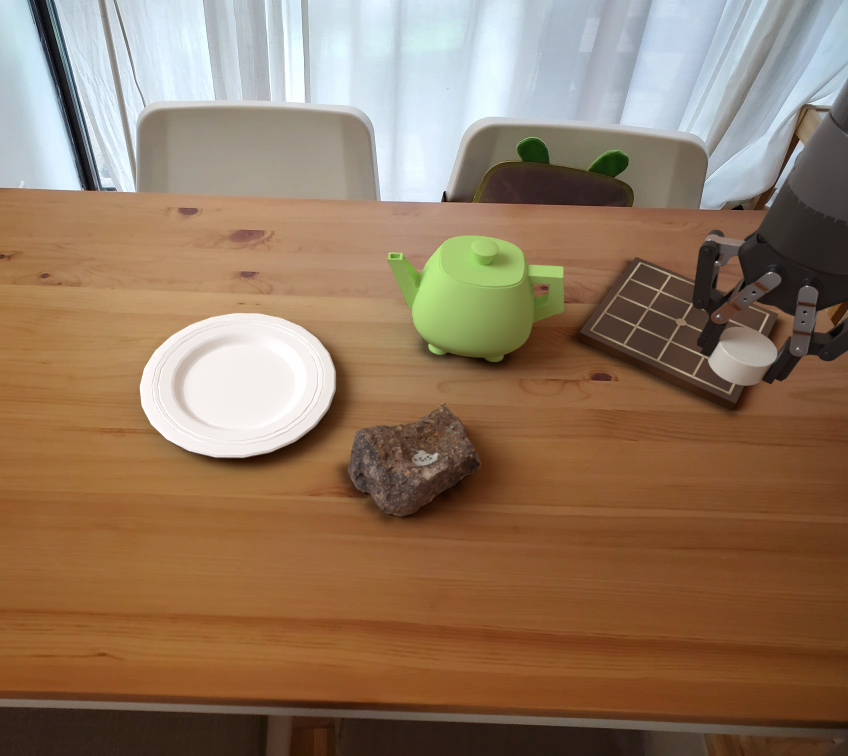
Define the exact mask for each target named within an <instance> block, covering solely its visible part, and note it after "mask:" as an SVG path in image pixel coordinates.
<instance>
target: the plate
mask: <svg viewBox="0 0 848 756" xmlns="http://www.w3.org/2000/svg"><path fill="white" fill-rule="evenodd" d="M331 356H332V355H331V353H330V351H328V349H327V348H326V347H325V346H324V345H323V343H322V342H321V341H320V339H319V338H318V337H317V336H315V335H314V334H313V333H311V332H310V331H309V330H307V329H306V328H304V327H303V326H301V325H299V324H297V323H294V322H292V321H289V320H287V319H284V318H283V317H278V316H274V315H268V314H263V313H258V312H257V313H255V312H254V313H253V312H251V313H247V312H246V313H245V312H235V313H234V312H233V313H228V314H223V315H215V316H211V317H209V318H205V319H203V320H199V321H196V322H194V323H191V324H189V325H187V326H186V327H184V328H183V329H180V330H179V331H177V332H175V333H174V334H172V335H170V337H168V338H167V339H166V340H165V341H164V342H163V343H162V344H161V345H159V347H157V348H156V349H155V351H154V352H153V354H152V355H151V356H150V358H149V360H148V362H147V363H146V365H145V367H144V368H143V372H142V375H141V376H142V377H141V380H140V383H139V395H140V401H141V408H142V410H143V412H144V414H145V415H146V418H147V419H148V421H149V423H150V425H151V427H152V428H154V430H156V431H157V432H158V433H159V434H160V435H161V436H162V437H163V438H164V439H165V440H166V441H167V442H169V443H171V444H173V445H175V446H177V447H178V448H181V449H183V450H185V451H187V452H188V453H192V454H196V455H200V456H204V457H205V456H206V457H210V458H212V459H213V458H214V459H247V458H248V459H249V458H252V457H257V456H262V455H268V454H272V453H274V452H276V451H279V450H282V449H283V448H285V447H287V446H291V445H292V444H295V443H296V442H298V441H299V440H301V439H302V438H303V437H304V436H305V435H307V434H308V433H309V432H311V431H313V429H315V428H316V427H317V426H318V424H319V423H321V421H322V420H323V418H324V417H325V415H326V414H327V413H328V411H329V410H330V407H331V405H332V402H333V399H334V396H335V394H336V392H337V391H336V390H337V371H336V368H335V364H334V362H333V359H332V357H331Z"/></svg>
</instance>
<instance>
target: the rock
mask: <svg viewBox="0 0 848 756" xmlns="http://www.w3.org/2000/svg"><path fill="white" fill-rule="evenodd" d="M353 438H354V439H353V443H352V447H351V450H350V454H349V457H350V459H349V465H348V466H347V473H348V474H349V477H350V480H351V481H352V483H353V485H354V486H355V488H356V489H357V490H358V491H360V492H362V493H368V494H369V495H370V497H372V499H373V501H374V502H375V505H377V506H378V507H379V508H380V509H381V510H382V511H383V512H384V513H385V514H387V515H393V516H396V517H405V516H408V515H412V514H415V513H417V511H419V510H420V508H422V507H423V506H425V505H427V504H428V503H430V502H432V501H433V500H434V498H436V497H437V496H438V495H440V494H441V493H442V492H445V491H446V490H447V489H450V488H452V487H453V486H456V484H457V483H458V482H459V481H461V480H463V478H464V477H466V476H468V475H469V476H470V475H473V474H474V473H476V472H477V471H478V470H480V469H481V467H482V463H481V460H480V456H479V455H480V454H479V453H478V452H477V449H476V448H475V446H474V443H473V442H472V441H471V440H470V439H469V438H468V436H467V433H466V428H465V427H464V424H463V422H462V421H461V419H460V417H458V416H457V415H456V414H454V413H453V412H452V409H450V407H448V406H447V404H446V403H445V402H441V403H440V404H439V405H438V406H437V407H435V408H434V409H433V410H432V411H431V412H430V413H428V414H426V415H424V416H422V417H420V418H419V419H418V420H415V421H413V422H408V423H405V424H403V423H402V424H397V425H386V424H381V425H380V424H379V425H372V426H370V427H364V428H359V429H358V430H357V431H355V434H354V437H353Z"/></svg>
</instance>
